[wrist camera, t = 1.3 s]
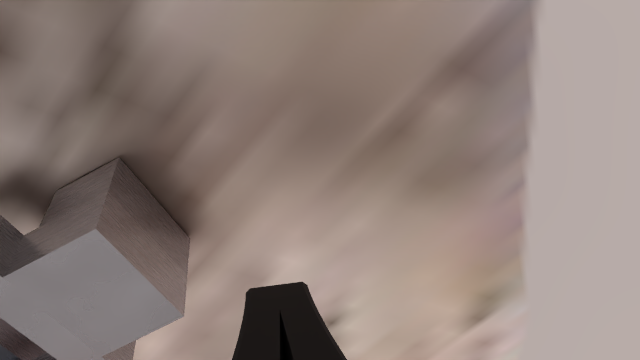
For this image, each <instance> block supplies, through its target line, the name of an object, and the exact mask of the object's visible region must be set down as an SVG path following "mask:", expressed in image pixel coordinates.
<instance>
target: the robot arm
mask: <svg viewBox="0 0 640 360" xmlns="http://www.w3.org/2000/svg"><path fill="white" fill-rule="evenodd" d="M232 360H347V359H346V358H345V356H344V354H343V353H342V351H341V350H340V348H339V346H338V345H337V343H336V342H335V340H334V339H333V337H332V335H331V334H330V332H329V330H328V328H327V327H326V325H325V323H324V321H323V319H322V318H321V316H320V314H319V312H318V310H317V308H316V306H315V304H314V301H313V299H312V297H311V294H310V292H309V289H308V286H307V285H306V284H305V283H303V282H297V283H289V284H281V285H274V286H266V287H258V288H250V289H249V290H248V291H247V292H246V301H245V309H244V315H243V320H242V325H241V329H240V333H239V338H238V341H237V345H236V348H235V351H234V355H233V358H232Z"/></svg>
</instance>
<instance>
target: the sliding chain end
mask: <svg viewBox="0 0 640 360" xmlns="http://www.w3.org/2000/svg"><path fill="white" fill-rule="evenodd" d="M189 244H190V238H189V237H188V236H187V235H186V234H185V232H184V231H183V230H182V229H181V228H180V227H179V225H178V224H177V223H176V222H175V221H174V220H173V219H172V217H171V216H170V215H169V214H168V213H167V212H166V211H165V209H164V208H163V207H162V206H161V205H160V204H159V203H158V201H157V200H156V199H155V198H154V197H153V196H152V194H151V193H150V192H149V191H148V190H147V189H146V188H145V186H144V185H143V184H142V183H141V182H140V181H139V180H138V178H137V177H136V176H135V175H134V174H133V173H132V172H131V170H130V169H129V168H128V167H127V166H126V165H125V164H124V162H123V161H122V160H121V159H120V158H117V159H115V160H113V161H111V162H110V163H108V164H106V165H104V166H102V167H100V168H98V169H97V170H95V171H93V172H91V173H89V174H87V175H85V176H84V177H82V178H80V179H78V180H76V181H74V182H72V183H71V184H69V185H67V186H65V187H63V188H61V189H59V190H58V191H56V193H55V195H54V197H53V199H52V201H51V203H50V205H49V207H48V209H47V212H46V214H45V216H44V218H43V220H42V222H41V224H40V226H39V228H37V229H35V230H33V231H31V232H30V233H28V234H26V235H23V234H21V233H20V232H19V231H18V230H17V229H16V228H15V227H14V226H12V225H11V224H10V223H9V222H8V221H7V220H6V219H4V218H3V217H2V216H1V215H0V318H2V319H3V320H4V321H6V322H7V323H8V324H10V325H11V326H12V327H14V328H15V329H16V330H18V331H19V332H20V333H22V334H23V335H24V336H26V337H27V338H29V339H30V340H31V341H33V342H34V343H35V344H37V345H38V346H39V347H41V348H42V349H43V350H45V351H46V352H47V353H45V354H43V355H41V356H39V357H37V358H35V359H33V360H133V354H134V348H135V343H136V340H137V339H139V338H141V337H143V336H145V335H147V334H149V333H151V332H153V331H155V330H157V329H159V328H161V327H163V326H165V325H167V324H169V323H172V322H174V321H176V320H178V319H180V318H182V317H184V310H185V297H186V284H187V271H188V257H189Z"/></svg>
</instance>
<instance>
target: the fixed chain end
mask: <svg viewBox="0 0 640 360" xmlns="http://www.w3.org/2000/svg"><path fill="white" fill-rule="evenodd" d="M45 353H47V352H46V351H45V350H43V349H42V348H41V347H39V346H38V345H37V344H35V343H34V342H33V341H31V340H30V339H29V338H27V337H26V336H24V335H23V334H22V333H20V332H19V331H18V330H16V329H15V328H14V327H12V326H11V325H10V324H8V323H7V322H6V321H4V320H3V319H2V318H0V360H33V359H35V358H37V357H39V356H41V355H43V354H45Z"/></svg>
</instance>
